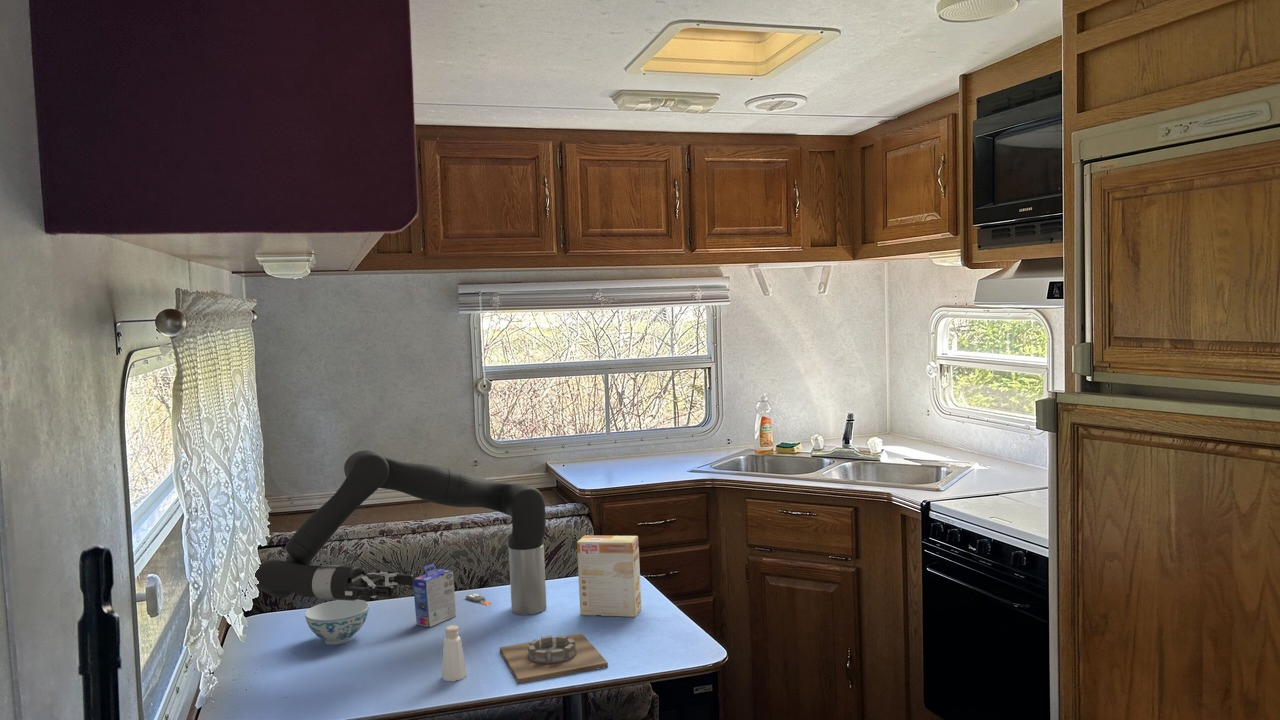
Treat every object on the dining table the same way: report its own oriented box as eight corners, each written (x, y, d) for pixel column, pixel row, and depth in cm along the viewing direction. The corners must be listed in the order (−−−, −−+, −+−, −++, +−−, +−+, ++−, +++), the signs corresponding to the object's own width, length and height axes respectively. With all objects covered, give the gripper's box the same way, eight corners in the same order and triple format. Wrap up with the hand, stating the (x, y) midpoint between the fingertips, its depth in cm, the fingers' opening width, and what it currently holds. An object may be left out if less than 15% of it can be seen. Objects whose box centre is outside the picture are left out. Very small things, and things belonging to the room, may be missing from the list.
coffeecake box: (642, 608, 233) (638, 535, 232) (635, 617, 226) (632, 542, 225) (587, 606, 236) (584, 534, 235) (579, 615, 229) (576, 541, 228)
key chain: (464, 600, 247) (463, 595, 247) (475, 597, 250) (475, 592, 250) (490, 610, 238) (490, 605, 238) (502, 607, 240) (502, 601, 240)
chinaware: (305, 635, 223) (303, 605, 223) (367, 625, 229) (365, 595, 229) (308, 655, 210) (306, 623, 209) (374, 643, 216) (372, 612, 215)
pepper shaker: (436, 677, 193) (433, 628, 193) (457, 669, 197) (454, 621, 197) (451, 684, 190) (448, 633, 189) (472, 675, 194) (469, 626, 193)
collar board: (499, 651, 207) (499, 636, 207) (582, 637, 214) (581, 622, 214) (518, 683, 188) (517, 667, 188) (607, 667, 195) (607, 651, 195)
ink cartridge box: (442, 613, 236) (439, 559, 235) (457, 616, 233) (454, 561, 232) (414, 624, 228) (411, 569, 227) (429, 628, 225) (426, 572, 224)
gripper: (318, 575, 192) (385, 578, 188) (355, 557, 206) (418, 560, 202) (320, 609, 193) (387, 613, 189) (357, 589, 207) (420, 592, 202)
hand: (403, 585), depth 195 cm, fingers open, 8 cm apart
